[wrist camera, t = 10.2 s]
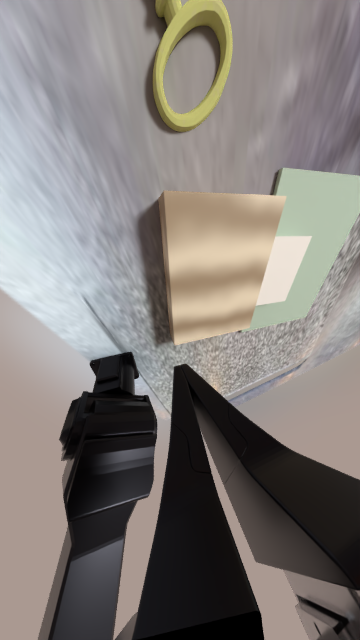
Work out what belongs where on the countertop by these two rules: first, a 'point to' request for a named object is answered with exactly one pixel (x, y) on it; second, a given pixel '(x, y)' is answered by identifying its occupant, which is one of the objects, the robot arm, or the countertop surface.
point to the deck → (215, 259)
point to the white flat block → (282, 268)
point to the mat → (311, 220)
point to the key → (180, 20)
